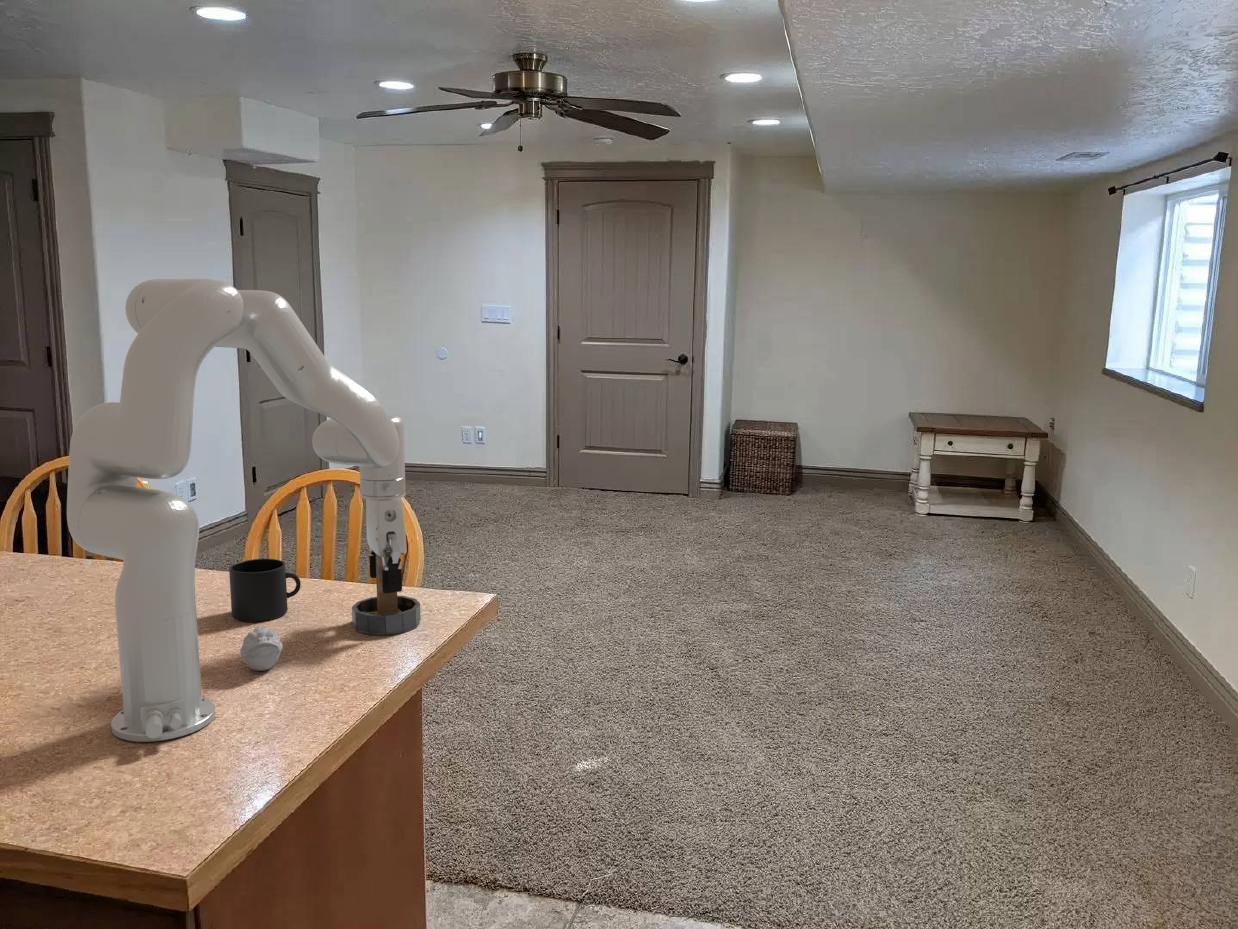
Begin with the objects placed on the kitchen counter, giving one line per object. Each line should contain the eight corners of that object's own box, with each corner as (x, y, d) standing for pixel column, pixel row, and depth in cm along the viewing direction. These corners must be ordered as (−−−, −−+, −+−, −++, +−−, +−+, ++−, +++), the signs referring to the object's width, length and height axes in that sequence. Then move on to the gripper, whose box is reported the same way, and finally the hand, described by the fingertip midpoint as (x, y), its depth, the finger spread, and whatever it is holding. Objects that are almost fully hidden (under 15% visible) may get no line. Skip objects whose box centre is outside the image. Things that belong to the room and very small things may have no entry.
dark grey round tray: (426, 630, 167) (426, 610, 167) (361, 639, 162) (360, 619, 162) (410, 611, 177) (410, 592, 177) (347, 619, 172) (347, 600, 172)
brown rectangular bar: (397, 622, 170) (396, 555, 168) (380, 624, 168) (378, 557, 166) (394, 618, 172) (393, 552, 170) (377, 620, 170) (375, 554, 168)
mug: (307, 616, 174) (304, 567, 172) (235, 626, 168) (232, 575, 167) (296, 601, 182) (294, 554, 181) (228, 610, 176) (225, 562, 175)
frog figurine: (243, 681, 144) (240, 636, 143) (239, 665, 151) (237, 622, 149) (286, 675, 147) (284, 631, 146) (280, 659, 153) (278, 617, 152)
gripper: (417, 495, 160) (420, 595, 163) (392, 477, 175) (395, 569, 178) (371, 498, 156) (374, 601, 159) (350, 480, 172) (353, 574, 175)
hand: (385, 584), depth 169 cm, fingers open, 9 cm apart
